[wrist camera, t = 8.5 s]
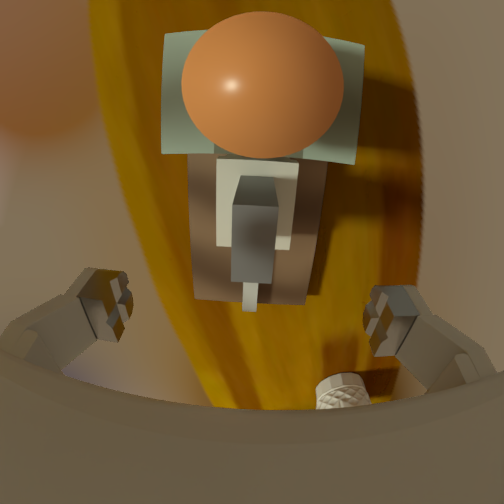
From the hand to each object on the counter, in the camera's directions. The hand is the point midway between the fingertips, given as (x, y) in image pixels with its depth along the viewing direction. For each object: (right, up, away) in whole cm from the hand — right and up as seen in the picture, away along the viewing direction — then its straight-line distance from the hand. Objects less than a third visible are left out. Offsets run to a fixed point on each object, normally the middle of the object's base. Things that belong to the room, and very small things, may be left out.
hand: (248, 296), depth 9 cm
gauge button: (+1, +8, +2) cm, 9 cm away
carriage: (0, +5, +11) cm, 12 cm away
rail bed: (0, +6, +13) cm, 14 cm away
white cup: (+12, -17, +25) cm, 33 cm away
